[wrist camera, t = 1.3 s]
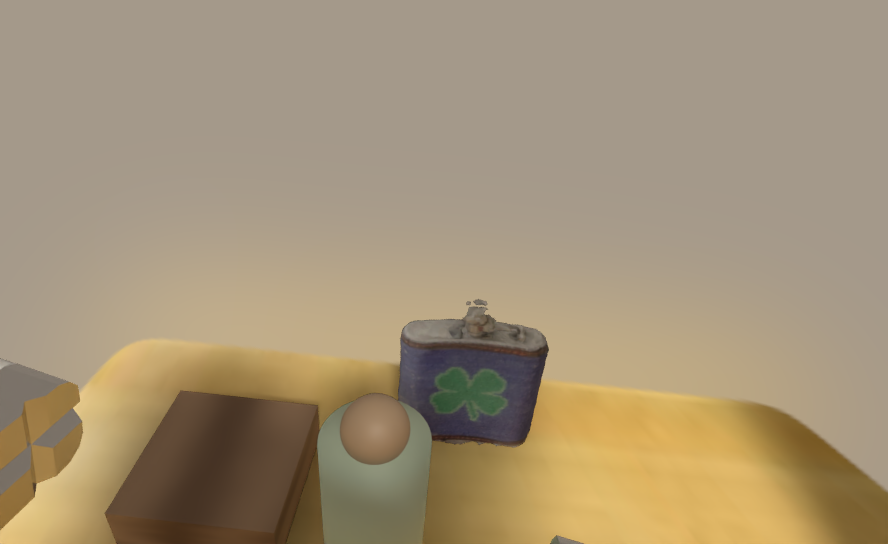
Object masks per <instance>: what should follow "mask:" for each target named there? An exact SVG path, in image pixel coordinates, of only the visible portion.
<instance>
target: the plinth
mask: <svg viewBox="0 0 888 544" xmlns="http://www.w3.org/2000/svg"><path fill="white" fill-rule="evenodd" d="M318 435H319V419H318V406H317V405H308V404H299V403H290V402H281V401H272V400H263V399H253V398H244V397H235V396H226V395H217V394H208V393H199V392H189V391H180V393H179V394H178V396H177V398H176V399H175V401H174V402H173V404H172V406H171V407H170V409H169V410H168V412H167V414H166V415H165V417H164V419H163V420H162V422H161V423H160V425H159V427H158V428H157V430H156V432H155V433H154V435H153V436H152V438H151V440H150V441H149V443H148V444H147V446H146V448H145V449H144V451H143V453H142V454H141V456H140V457H139V459H138V461H137V462H136V464H135V465H134V467H133V469H132V470H131V472H130V474H129V475H128V477H127V478H126V480H125V482H124V483H123V485H122V486H121V488H120V490H119V491H118V493H117V495H116V496H115V498H114V499H113V501H112V503H111V504H110V506H109V508H108V509H107V511H106V512H105V516H106V518H107V521H108V523H109V525H110V528H111V530H112V533H113V535H114V538H115V540H116V543H117V544H286V540H287V537H288V534H289V531H290V528H291V525H292V522H293V519H294V515H295V512H296V509H297V506H298V503H299V500H300V497H301V494H302V490H303V487H304V484H305V481H306V478H307V475H308V472H309V468H310V465H311V462H312V459H313V456H314V453H315V450H316V447H317V441H318Z"/></svg>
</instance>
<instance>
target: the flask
mask: <svg viewBox="0 0 888 544" xmlns="http://www.w3.org/2000/svg"><path fill="white" fill-rule="evenodd" d="M470 303H471V302H467V303H466V304H467V305H470ZM474 303H475V304H476V305H485V306H486V305H487V302H486V301H483V300H479V299H478V300H475V301H474ZM486 310H487V308H484V307H479V308H478V307H469V309H468V312H467V315H466V316H465V317H464V318H463V319H464V320H455V319H446V320H445V319H444V320H424V321H419V320H418V321H413V322H410V323H408V324H407V325H406V326H405V327H404V328H403V330H402V334H401V361H400V380H399V389H398V401H400V402H403V403H405V404H407V405H409V406H411V407H412V408H414V409H415V410H416V411H418V412H419V413H420V414H421V415H422V417H423V418H424V419H425V421H426V422H427V424H428V426H429V428H430V431H431V436H432V440H433V441H441V442H446V443H453V444H463V443H464V444H465V442H470V441H474V442H477V443H478V444H479V445H480V444H483V443H492V444H494V445H496V446H497V445H504V446H510V447H517V446H519V445H521V444H523V443H524V442H525V440H526V437H527V434H528V433H529V431H530V427H531V422H532V418H533V413H534V408H535V405H536V400H537V395H538V390H539V387H540V383H541V377H542V374H543V370H544V366H545V360H546V357H547V353H548V351H549V349H548V345H547V341H546V338H545V337H544V335H543V334H542V333H541V332H540V331H538V330H536V329H533V328H528V327H524V326H522V325H510V324H507V323H500V322H496V320H495V319H494V318H492V317H491V316H490V315H485V314H484V312H485V311H486Z"/></svg>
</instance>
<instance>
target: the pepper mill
mask: <svg viewBox="0 0 888 544" xmlns="http://www.w3.org/2000/svg"><path fill="white" fill-rule="evenodd" d="M431 448H432V436H431V431H430V428H429V426H428V424H427V422H426V421H425V419H424V418H423V417H422V415H421V414H420V413H419V412H418V411H416V410H415V409H414V408H412V407H411V406H409V405H407V404H405V403H403V402H400V401H398V400H396V399H394V398H393V397H391V396H388V395H385V394H380V393H372V394H367V395H364V396H362V397H359V398H358V399H356V400H355V401H352V402H350V403H347V404H345V405H343V406H342V407H340V408H338V409H337V410H336V411H334V412H333V413H332V414H331V415H330V416H329V417H328V418H327V419H326V421H325V422H324V424H323V425H322V427H321V429H320V432H319V435H318V441H317V449H318V463H319V478H320V492H321V507H322V521H323V536H324V544H423V534H424V523H425V512H426V502H427V491H428V480H429V469H430V458H431Z"/></svg>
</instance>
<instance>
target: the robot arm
mask: <svg viewBox="0 0 888 544" xmlns="http://www.w3.org/2000/svg"><path fill="white" fill-rule="evenodd" d="M79 402H80V396H79V390H78V386H77V385H75V384H73V383H71V382H68V381H66V380H63V379H60V378H57V377H54V376H51V375H48V374H45V373H43V372H40V371H37V370H34V369H31V368H28V367H25V366H22V365H20V364H15V363H13V362H10V361H7V360H4V359H1V358H0V530H1V529H2V528H3V527H4V526H5V525H6V524H7V523H8V522H9V521H10V520H11V519H12V518H13V517H14V516H15V515H16V514H18V513H19V512H20V511H21V510H22V509H23V508H24V507H25V506H26V505H27V504H28V503H29V502H30V501H31V500H32V499H33V498H34V497H35V491H36V484H37V483H39V482H42V481H45V480H47V479H50V478H52V477H55V476H57V475H58V474H59V473H60V472H61V471H62V470H63V469H64V468H65V467H66V466H67V465H68V464H69V463H70V461H71V459H72V458H73V456H74V454H75V453H76V451H77V449H78V448H79V446H80V442H81V438H82V434H83V428H82V420H81V419H80V418H79V416H78V415H77V414H76V412H75V411H74V409H73V407H74V406H75V405H77V404H78V403H79ZM550 544H583V543H580V542H577V541H574V540H570V539H567V538H564V537H560V536H557V535H556V536H555V537H554V538H553V539H552V541H551V543H550Z"/></svg>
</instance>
